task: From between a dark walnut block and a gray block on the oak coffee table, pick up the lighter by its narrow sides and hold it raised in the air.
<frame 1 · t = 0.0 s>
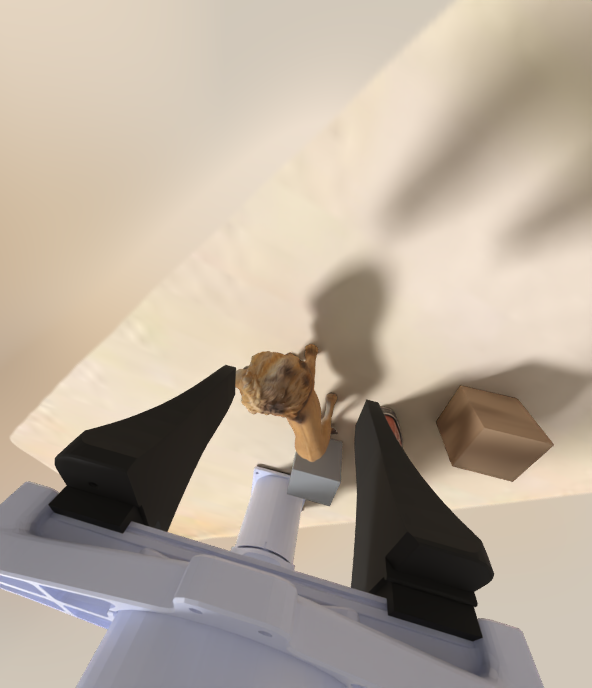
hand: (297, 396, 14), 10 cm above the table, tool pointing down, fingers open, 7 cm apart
gray block: (317, 448, 32), on the table
lion figurine: (305, 376, 26), on the table
lighter: (384, 432, 28), on the table
walnut block: (473, 410, 24), on the table
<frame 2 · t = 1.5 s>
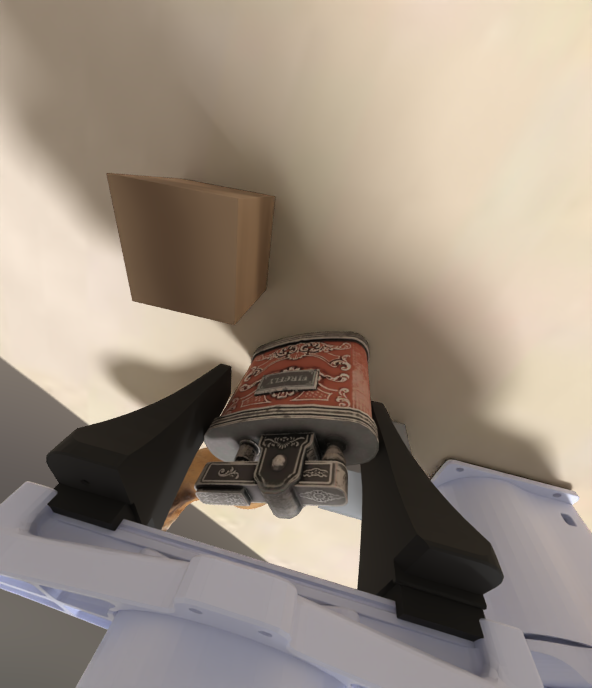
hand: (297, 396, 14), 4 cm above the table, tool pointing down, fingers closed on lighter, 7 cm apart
gray block: (361, 436, 21), on the table
lion figurine: (239, 427, 23), on the table
lighter: (309, 353, 18), on the table, touching gripper
walnut block: (228, 238, 15), on the table
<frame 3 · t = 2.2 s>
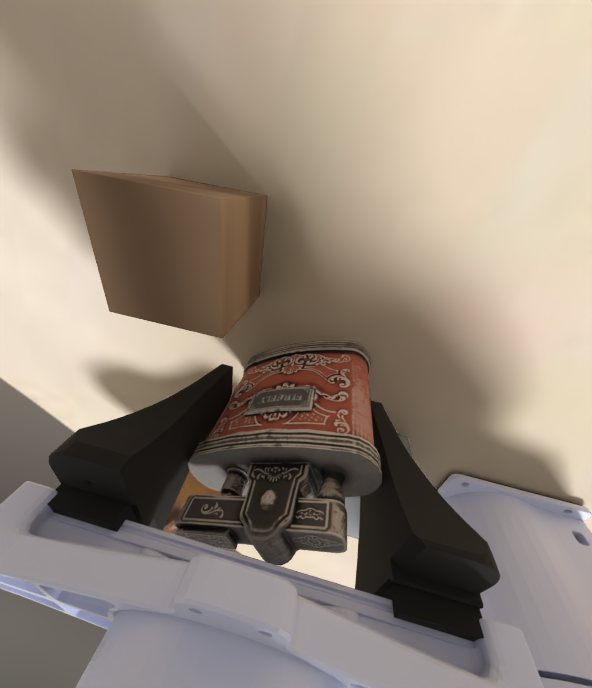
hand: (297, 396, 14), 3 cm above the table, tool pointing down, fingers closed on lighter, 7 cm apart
gray block: (361, 448, 19), on the table
lion figurine: (235, 438, 22), on the table
lighter: (305, 364, 17), on the table, touching gripper
walnut block: (217, 241, 13), on the table
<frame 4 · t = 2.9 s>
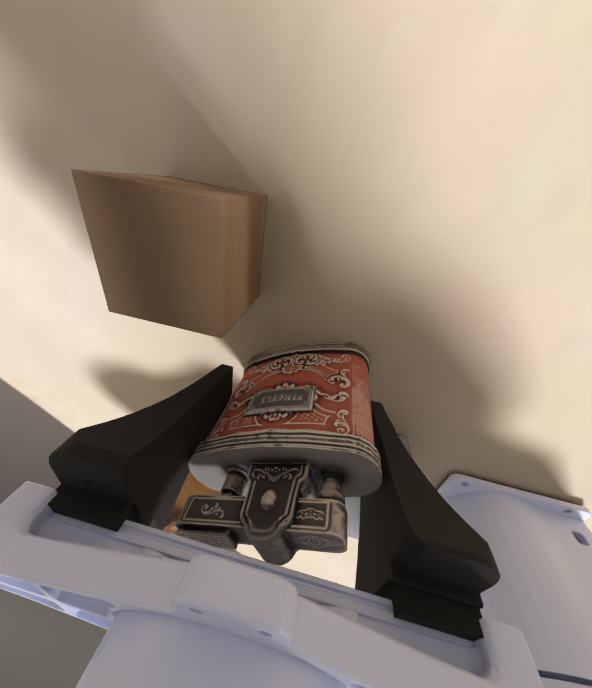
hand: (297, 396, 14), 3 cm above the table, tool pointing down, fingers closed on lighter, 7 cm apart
gray block: (361, 448, 19), on the table
lion figurine: (236, 438, 22), on the table
lighter: (305, 364, 17), on the table, touching gripper
walnut block: (217, 241, 13), on the table
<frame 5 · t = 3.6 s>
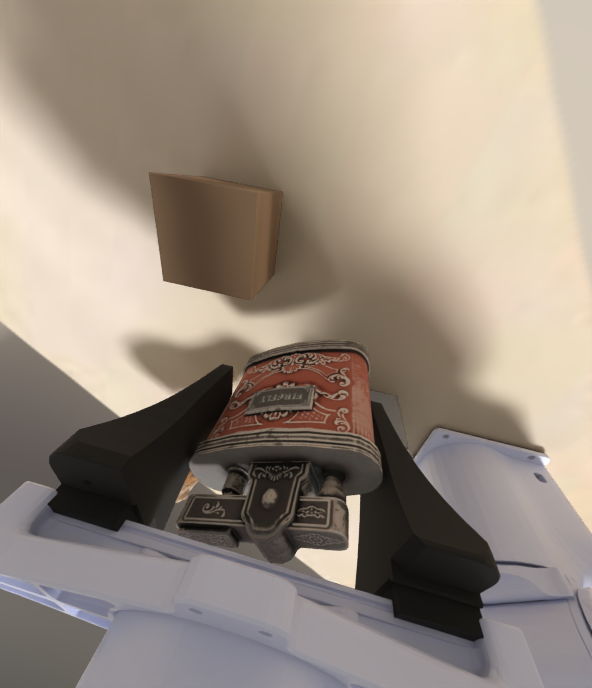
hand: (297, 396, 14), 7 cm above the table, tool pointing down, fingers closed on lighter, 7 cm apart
gray block: (358, 409, 23), on the table
lighter: (305, 363, 17), point 4 cm above the table, touching gripper
walnut block: (241, 228, 17), on the table
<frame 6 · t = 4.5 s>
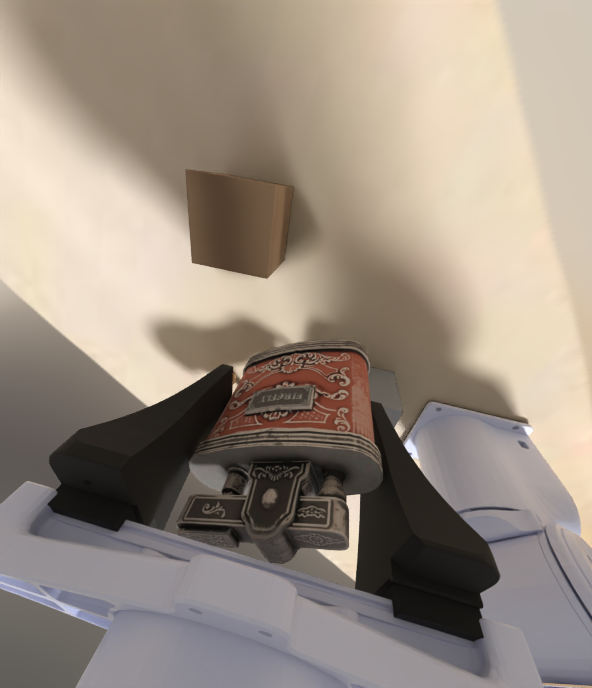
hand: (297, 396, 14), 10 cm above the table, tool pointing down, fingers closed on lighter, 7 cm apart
gray block: (359, 385, 25), on the table
lighter: (305, 363, 17), point 7 cm above the table, touching gripper
walnut block: (256, 219, 19), on the table
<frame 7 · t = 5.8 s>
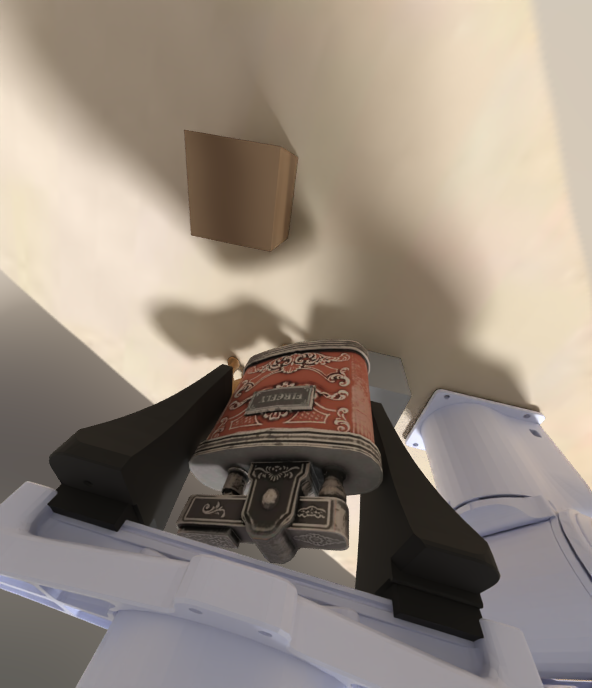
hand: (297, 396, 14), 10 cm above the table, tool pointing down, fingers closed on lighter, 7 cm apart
gray block: (364, 372, 24), on the table
lighter: (305, 363, 17), point 7 cm above the table, touching gripper
walnut block: (258, 194, 18), on the table
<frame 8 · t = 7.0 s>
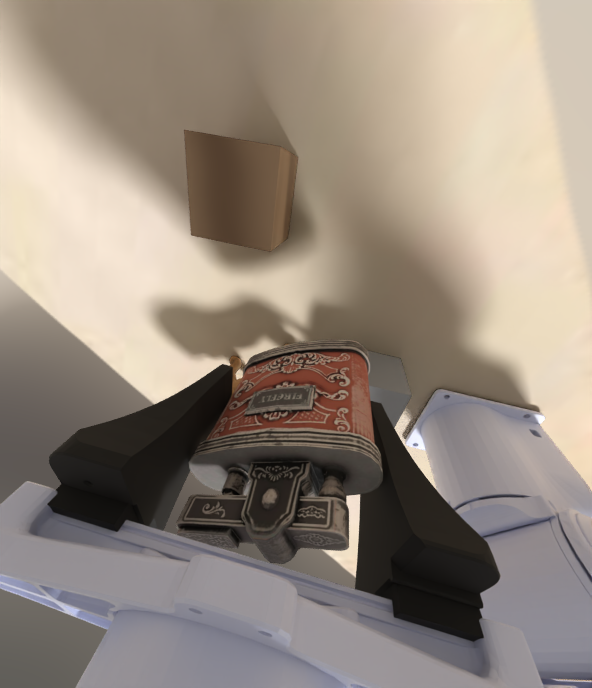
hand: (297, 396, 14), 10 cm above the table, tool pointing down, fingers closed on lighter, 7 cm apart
gray block: (364, 372, 24), on the table
lighter: (305, 363, 17), point 7 cm above the table, touching gripper
walnut block: (258, 194, 18), on the table
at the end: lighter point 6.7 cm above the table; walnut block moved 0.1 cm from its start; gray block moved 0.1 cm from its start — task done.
